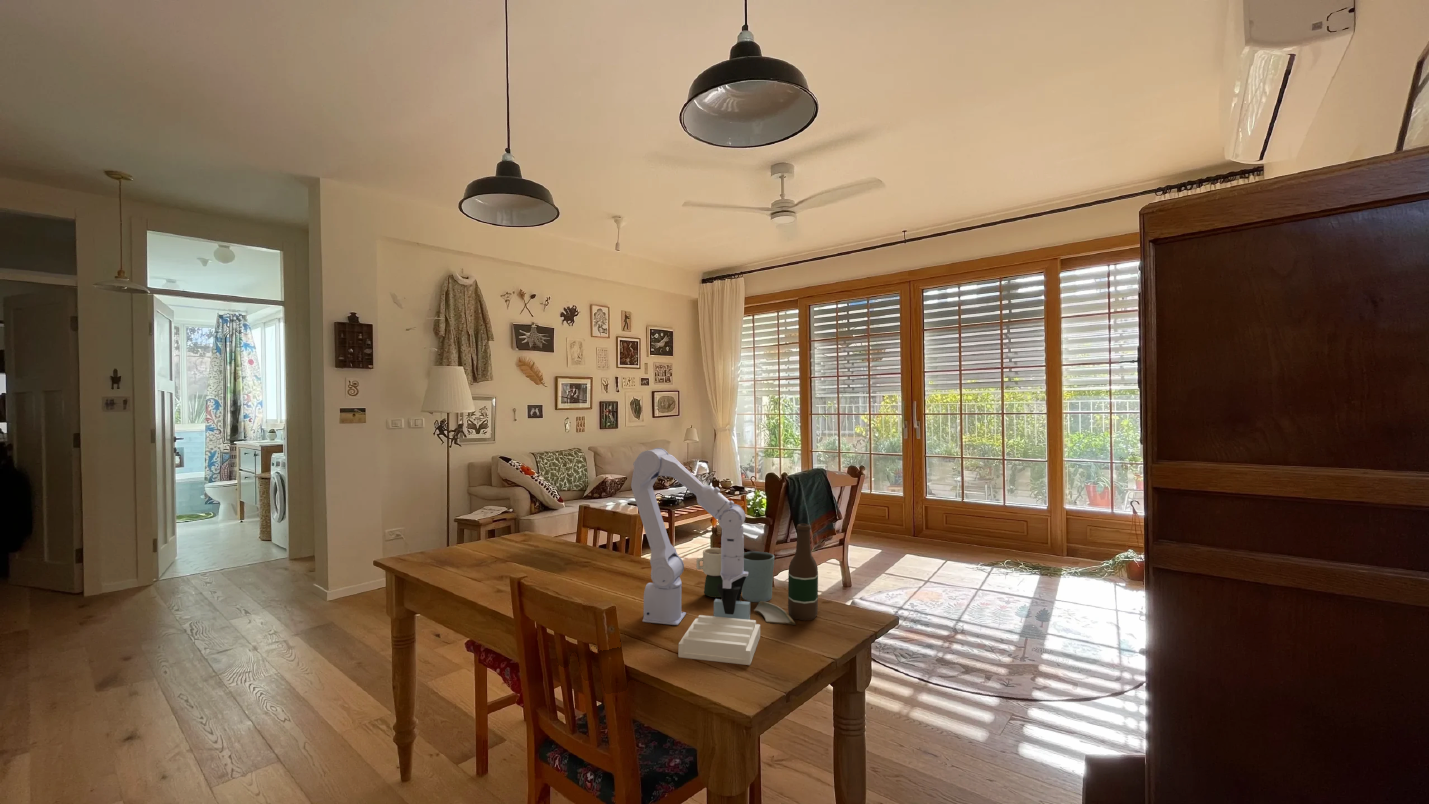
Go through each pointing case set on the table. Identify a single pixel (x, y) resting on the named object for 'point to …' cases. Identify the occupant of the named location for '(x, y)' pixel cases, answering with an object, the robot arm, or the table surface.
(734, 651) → the rack
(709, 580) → the cream and green mug
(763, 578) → the light blue cup
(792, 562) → the beer bottle
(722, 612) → the tile
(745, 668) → the table surface
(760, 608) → the ceramic fragment
